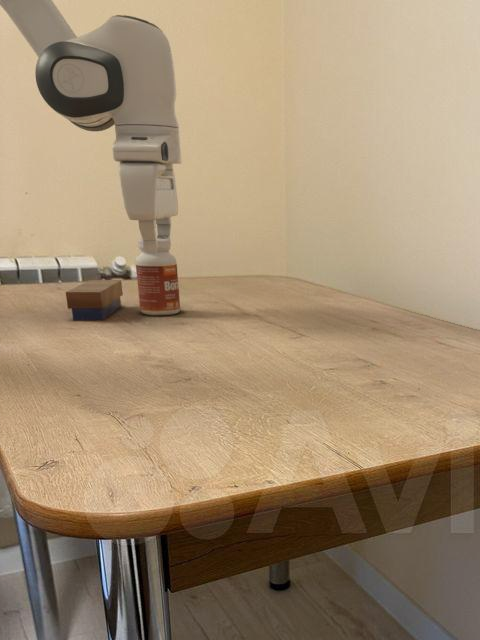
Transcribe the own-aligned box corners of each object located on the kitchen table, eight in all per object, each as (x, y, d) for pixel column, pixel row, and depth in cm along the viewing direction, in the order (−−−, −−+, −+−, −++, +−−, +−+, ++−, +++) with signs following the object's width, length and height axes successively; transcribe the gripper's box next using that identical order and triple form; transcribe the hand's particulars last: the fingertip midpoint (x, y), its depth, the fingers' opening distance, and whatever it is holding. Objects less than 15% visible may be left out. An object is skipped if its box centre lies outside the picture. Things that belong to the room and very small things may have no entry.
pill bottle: (173, 317, 109) (166, 241, 105) (134, 315, 109) (126, 240, 105) (186, 310, 115) (180, 238, 110) (149, 309, 115) (142, 237, 111)
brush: (103, 321, 105) (100, 292, 104) (69, 320, 105) (65, 292, 103) (124, 306, 117) (121, 280, 116) (93, 306, 117) (89, 279, 115)
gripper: (143, 153, 111) (151, 245, 117) (108, 145, 93) (120, 255, 98) (183, 153, 112) (190, 245, 117) (157, 146, 93) (166, 256, 98)
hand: (158, 250), depth 107 cm, fingers open, 8 cm apart
